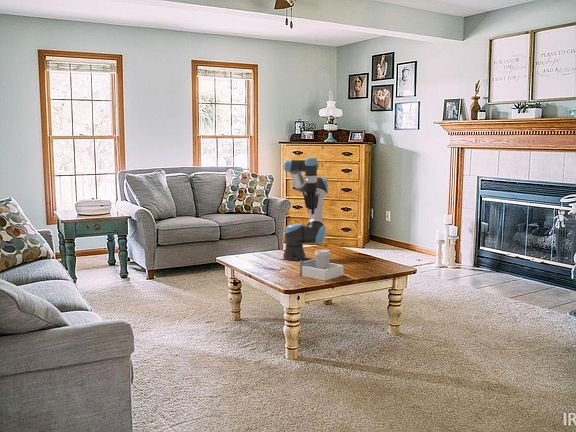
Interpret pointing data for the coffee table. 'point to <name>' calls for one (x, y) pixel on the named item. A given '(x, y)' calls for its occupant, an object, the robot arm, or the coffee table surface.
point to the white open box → (322, 272)
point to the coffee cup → (322, 259)
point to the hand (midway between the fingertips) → (311, 219)
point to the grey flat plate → (310, 263)
